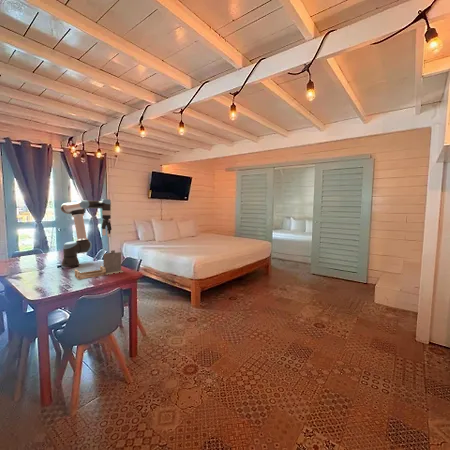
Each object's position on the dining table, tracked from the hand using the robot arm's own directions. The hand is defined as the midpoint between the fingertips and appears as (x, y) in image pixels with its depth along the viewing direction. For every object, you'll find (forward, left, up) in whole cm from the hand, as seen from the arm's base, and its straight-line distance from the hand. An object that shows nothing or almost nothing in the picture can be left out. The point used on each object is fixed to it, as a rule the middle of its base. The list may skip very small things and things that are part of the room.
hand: (106, 236), depth 237 cm
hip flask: (+19, -1, -31) cm, 37 cm away
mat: (+19, -1, -32) cm, 37 cm away
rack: (+19, -20, -32) cm, 42 cm away
